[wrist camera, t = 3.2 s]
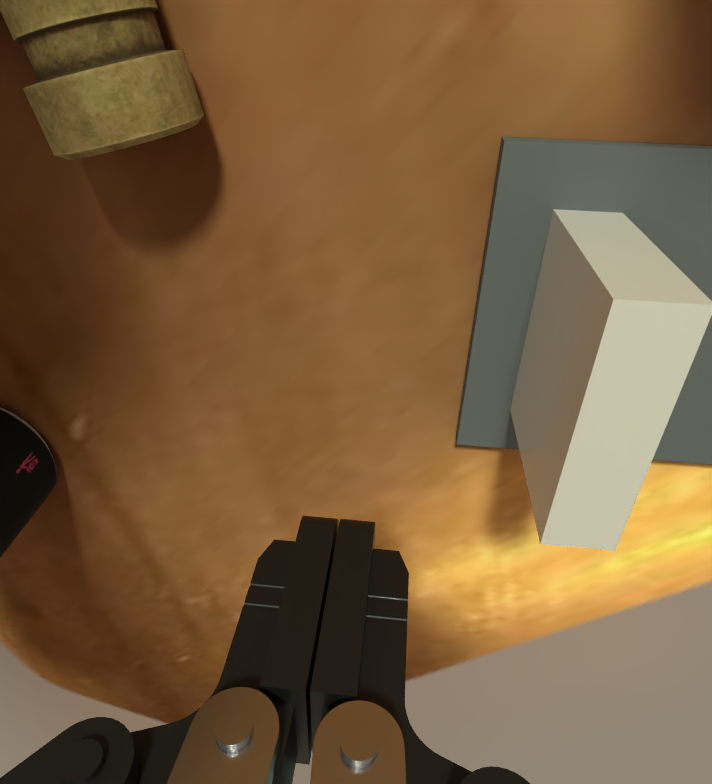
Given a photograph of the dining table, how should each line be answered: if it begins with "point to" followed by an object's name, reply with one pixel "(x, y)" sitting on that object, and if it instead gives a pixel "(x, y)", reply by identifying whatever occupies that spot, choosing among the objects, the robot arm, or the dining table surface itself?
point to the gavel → (101, 74)
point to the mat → (526, 249)
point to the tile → (600, 373)
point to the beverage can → (21, 475)
